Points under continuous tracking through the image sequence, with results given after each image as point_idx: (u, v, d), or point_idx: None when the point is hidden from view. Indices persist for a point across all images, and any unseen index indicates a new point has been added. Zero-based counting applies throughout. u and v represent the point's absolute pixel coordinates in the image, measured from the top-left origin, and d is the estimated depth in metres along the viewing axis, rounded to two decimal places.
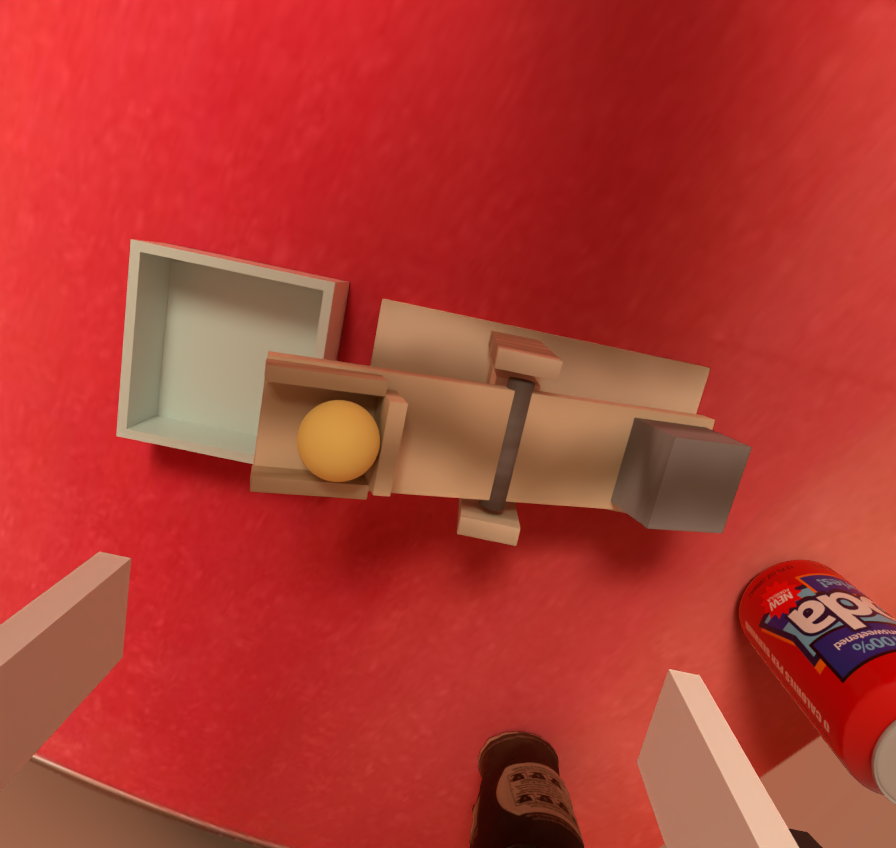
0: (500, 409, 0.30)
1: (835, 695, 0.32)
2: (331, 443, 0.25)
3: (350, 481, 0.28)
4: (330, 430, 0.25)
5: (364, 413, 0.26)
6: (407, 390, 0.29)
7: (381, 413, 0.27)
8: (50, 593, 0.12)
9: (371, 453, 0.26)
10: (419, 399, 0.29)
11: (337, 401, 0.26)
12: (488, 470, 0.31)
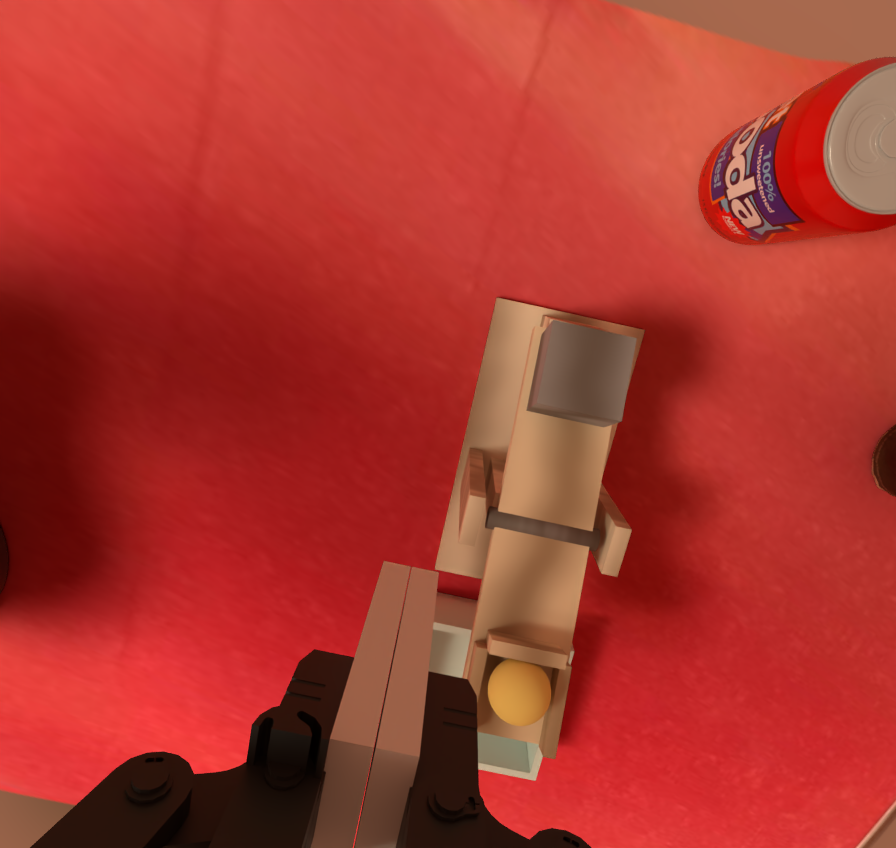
0: (509, 539, 0.37)
1: (819, 229, 0.31)
2: (515, 710, 0.33)
3: (556, 676, 0.35)
4: (505, 709, 0.33)
5: (497, 674, 0.34)
6: (488, 620, 0.36)
7: None
8: (378, 597, 0.15)
9: (527, 676, 0.33)
10: (496, 610, 0.37)
11: (488, 691, 0.34)
12: (562, 548, 0.37)
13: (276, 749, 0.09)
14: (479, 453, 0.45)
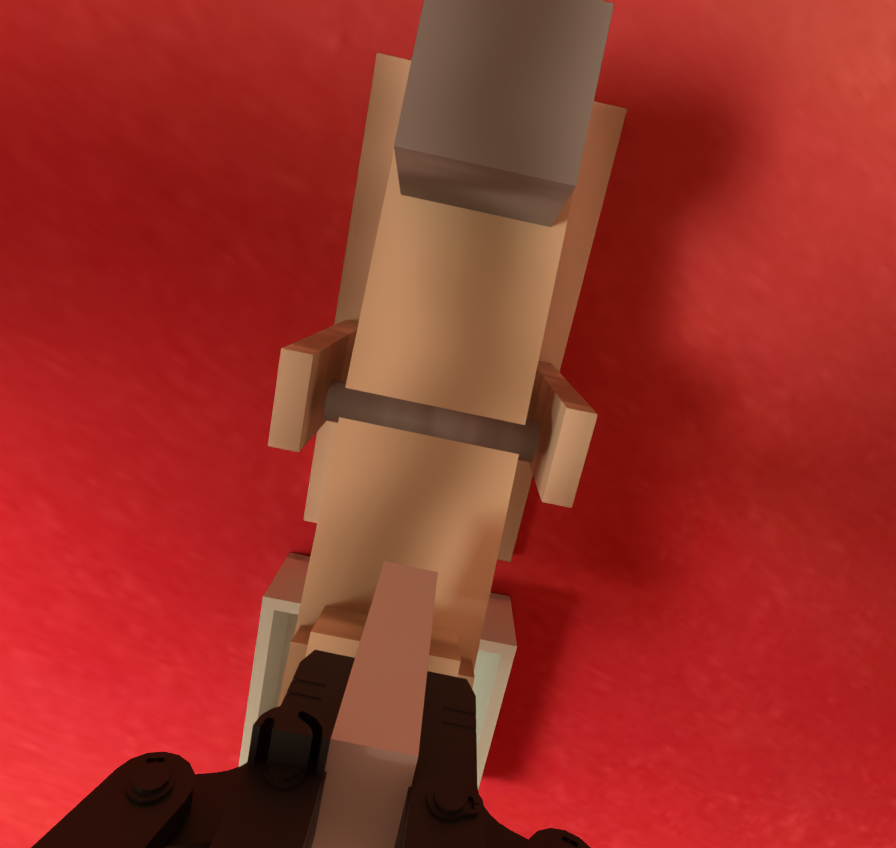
0: (367, 439, 0.20)
1: None
2: None
3: None
4: None
5: None
6: (326, 588, 0.20)
7: None
8: (378, 597, 0.15)
9: None
10: (341, 570, 0.20)
11: None
12: (467, 457, 0.20)
13: (277, 749, 0.09)
14: (357, 325, 0.28)
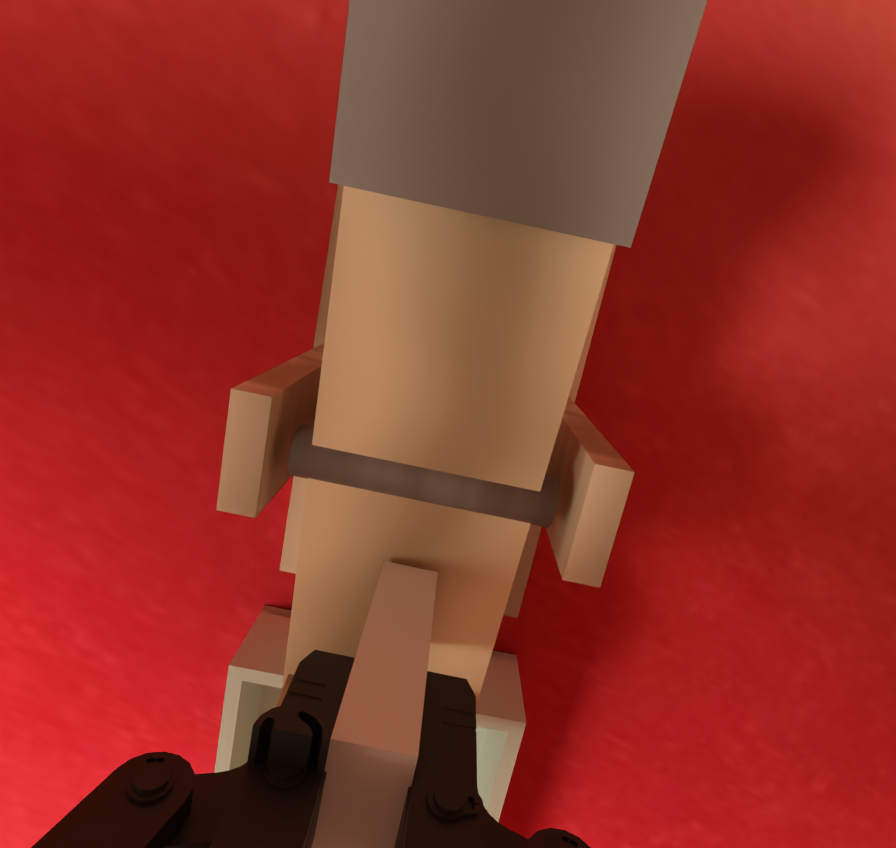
0: (344, 503, 0.16)
1: None
2: None
3: None
4: None
5: None
6: (311, 643, 0.18)
7: None
8: (378, 597, 0.15)
9: None
10: (326, 628, 0.18)
11: None
12: (466, 524, 0.16)
13: (277, 749, 0.09)
14: None
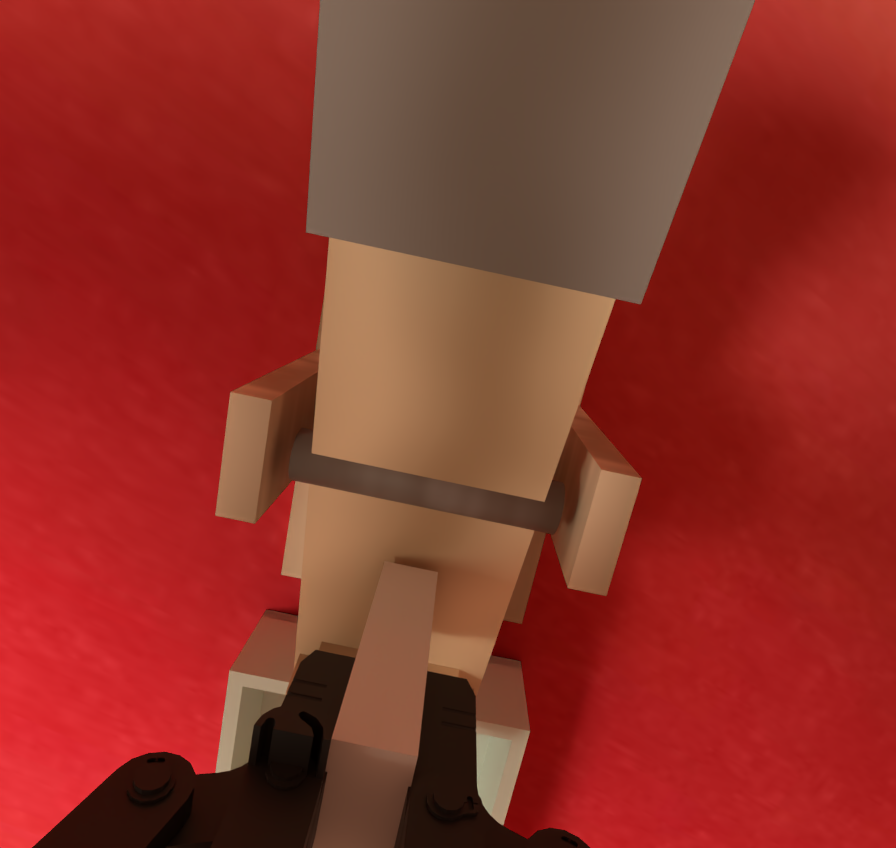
0: (346, 507, 0.16)
1: None
2: None
3: None
4: None
5: None
6: (320, 629, 0.19)
7: None
8: (379, 597, 0.15)
9: None
10: (333, 616, 0.18)
11: None
12: (469, 529, 0.16)
13: (278, 749, 0.09)
14: None
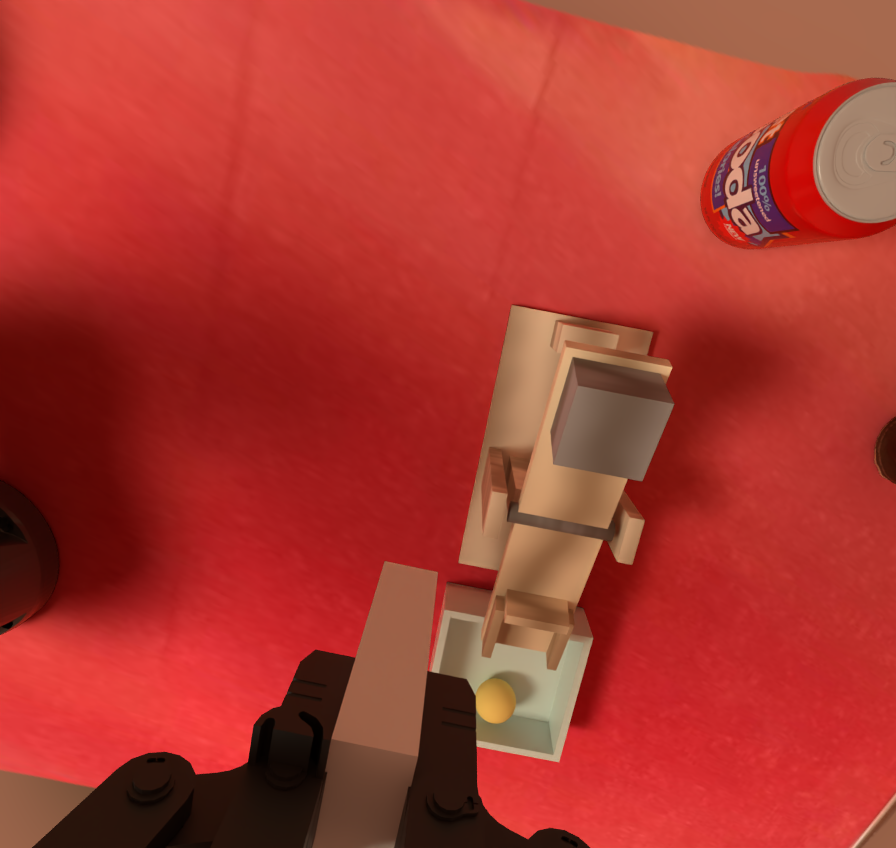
0: (528, 531, 0.40)
1: (812, 236, 0.34)
2: (487, 721, 0.52)
3: None
4: None
5: (479, 701, 0.52)
6: (507, 583, 0.43)
7: None
8: (379, 597, 0.15)
9: (496, 713, 0.51)
10: (514, 577, 0.43)
11: None
12: (577, 540, 0.40)
13: (278, 749, 0.09)
14: (498, 452, 0.48)
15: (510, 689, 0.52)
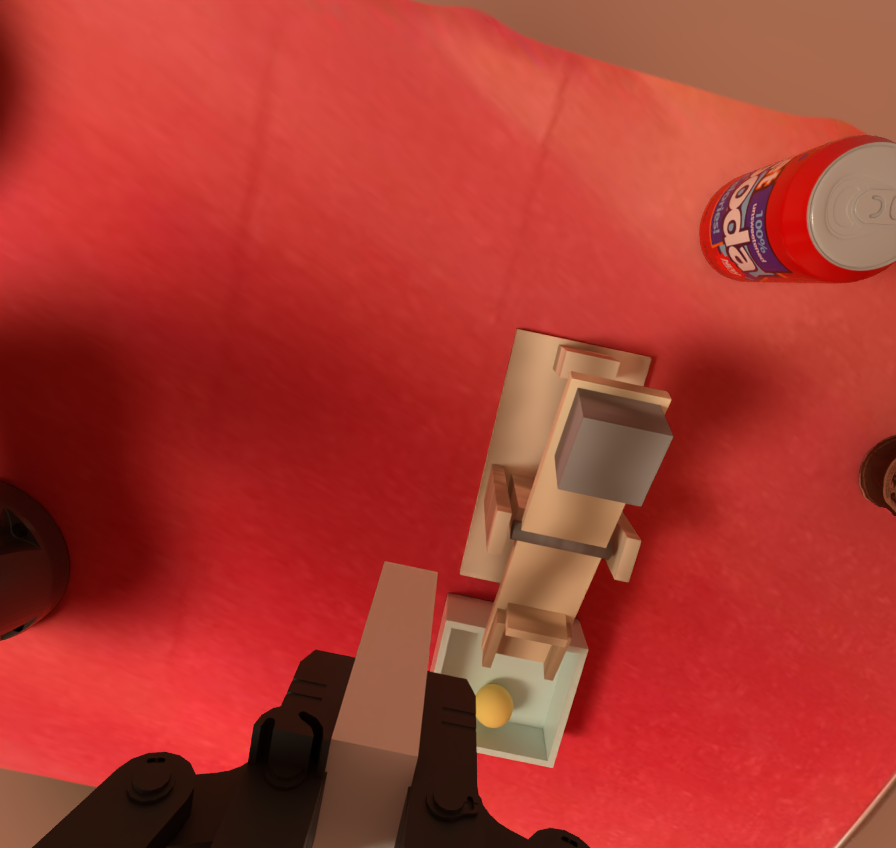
0: (530, 549, 0.42)
1: (805, 278, 0.36)
2: None
3: None
4: None
5: (478, 705, 0.53)
6: (509, 597, 0.45)
7: None
8: (379, 597, 0.15)
9: (494, 715, 0.53)
10: (515, 591, 0.45)
11: None
12: (576, 557, 0.42)
13: (278, 749, 0.09)
14: (501, 469, 0.50)
15: (507, 693, 0.54)
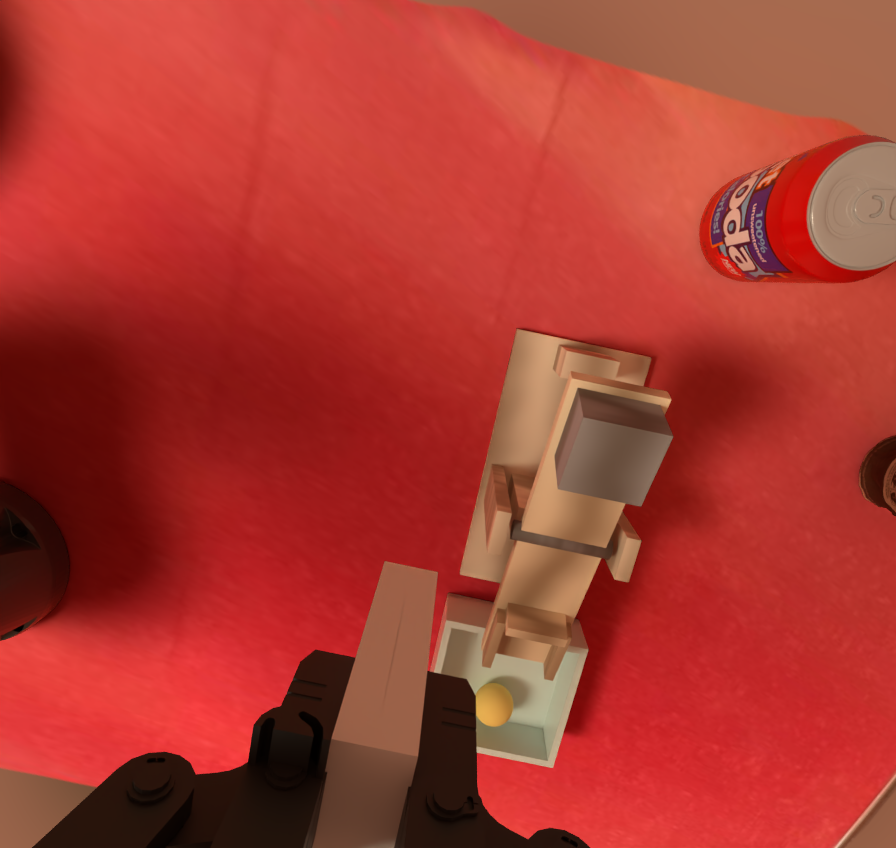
0: (530, 549, 0.42)
1: (805, 278, 0.36)
2: (486, 724, 0.53)
3: None
4: (481, 721, 0.54)
5: (478, 703, 0.53)
6: (509, 597, 0.45)
7: None
8: (379, 597, 0.15)
9: (495, 712, 0.53)
10: (515, 591, 0.45)
11: None
12: (576, 557, 0.42)
13: (278, 749, 0.09)
14: (501, 469, 0.50)
15: (508, 691, 0.54)
